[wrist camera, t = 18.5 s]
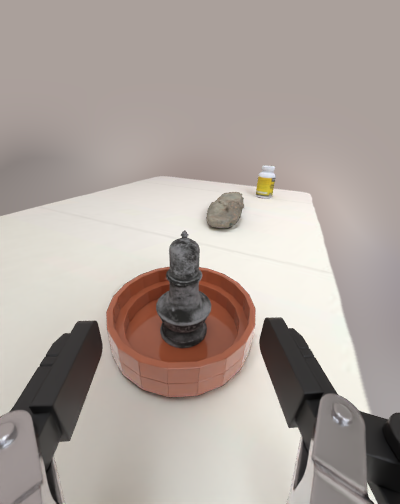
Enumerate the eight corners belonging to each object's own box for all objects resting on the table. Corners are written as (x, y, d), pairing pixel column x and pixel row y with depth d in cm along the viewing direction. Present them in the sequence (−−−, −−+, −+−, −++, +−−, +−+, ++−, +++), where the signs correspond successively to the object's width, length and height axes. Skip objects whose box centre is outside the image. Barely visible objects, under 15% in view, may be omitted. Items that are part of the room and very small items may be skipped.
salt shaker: (193, 305, 28) (196, 216, 23) (219, 336, 24) (231, 236, 19) (150, 320, 26) (142, 224, 20) (170, 360, 21) (166, 250, 16)
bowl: (90, 405, 18) (79, 372, 16) (129, 290, 31) (126, 265, 29) (269, 395, 19) (279, 364, 17) (233, 289, 33) (236, 265, 31)
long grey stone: (246, 203, 83) (220, 202, 85) (247, 189, 81) (220, 188, 83) (240, 232, 51) (199, 229, 54) (242, 209, 49) (199, 207, 51)
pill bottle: (266, 199, 85) (272, 167, 80) (252, 196, 89) (256, 165, 83) (274, 197, 89) (280, 166, 84) (260, 194, 93) (265, 165, 88)
